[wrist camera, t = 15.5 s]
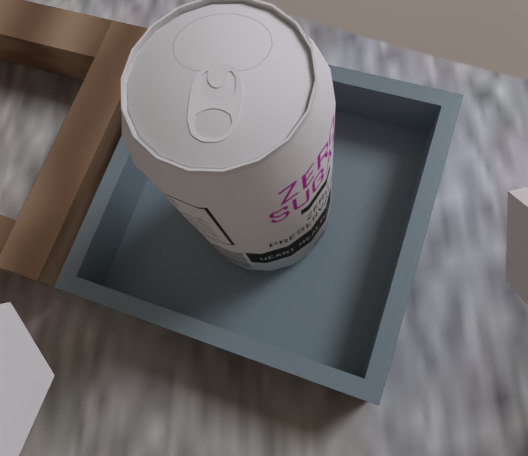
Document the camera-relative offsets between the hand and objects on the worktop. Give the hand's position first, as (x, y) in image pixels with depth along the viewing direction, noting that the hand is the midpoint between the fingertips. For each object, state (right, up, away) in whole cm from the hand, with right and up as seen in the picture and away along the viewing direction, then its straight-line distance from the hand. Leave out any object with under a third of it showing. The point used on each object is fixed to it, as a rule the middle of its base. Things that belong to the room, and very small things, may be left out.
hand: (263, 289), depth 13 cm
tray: (0, +3, +19) cm, 19 cm away
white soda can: (0, +3, +18) cm, 19 cm away
